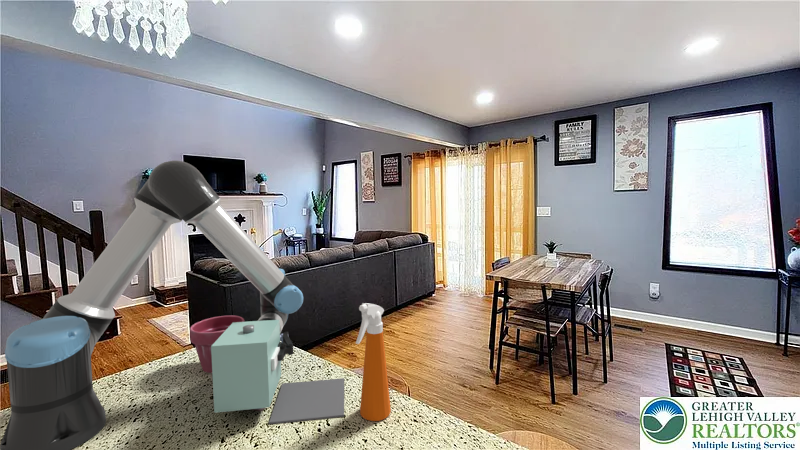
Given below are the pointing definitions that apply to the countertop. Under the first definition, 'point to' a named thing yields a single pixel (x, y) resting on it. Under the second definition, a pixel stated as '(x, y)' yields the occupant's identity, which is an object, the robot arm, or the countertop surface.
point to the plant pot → (209, 336)
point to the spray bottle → (374, 366)
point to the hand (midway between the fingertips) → (244, 367)
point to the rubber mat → (309, 401)
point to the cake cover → (245, 366)
